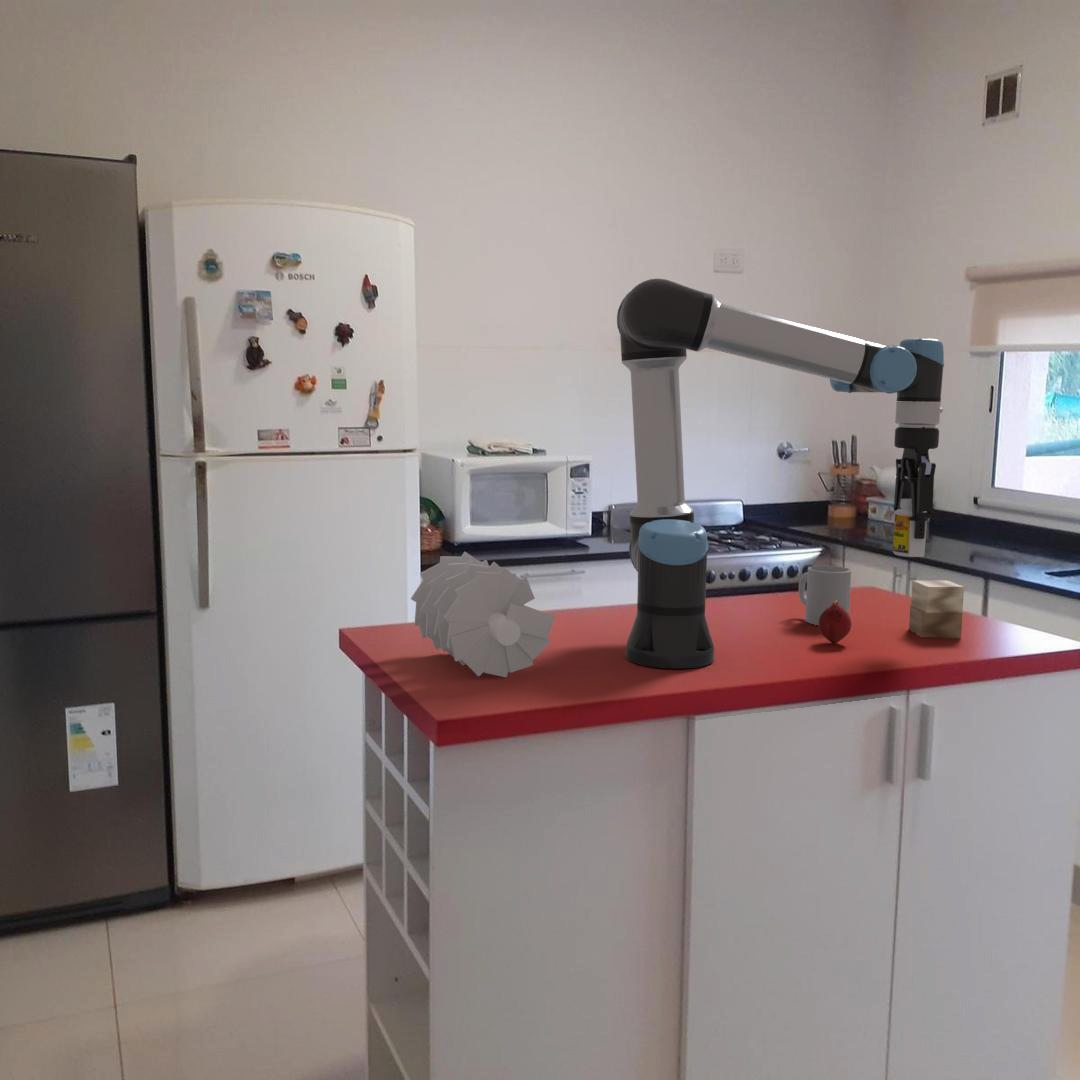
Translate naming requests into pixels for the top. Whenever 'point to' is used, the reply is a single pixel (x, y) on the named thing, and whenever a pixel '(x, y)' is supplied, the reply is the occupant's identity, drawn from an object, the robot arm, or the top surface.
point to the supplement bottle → (902, 528)
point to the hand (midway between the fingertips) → (910, 553)
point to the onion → (834, 623)
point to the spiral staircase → (480, 615)
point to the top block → (937, 596)
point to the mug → (824, 590)
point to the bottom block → (935, 624)
